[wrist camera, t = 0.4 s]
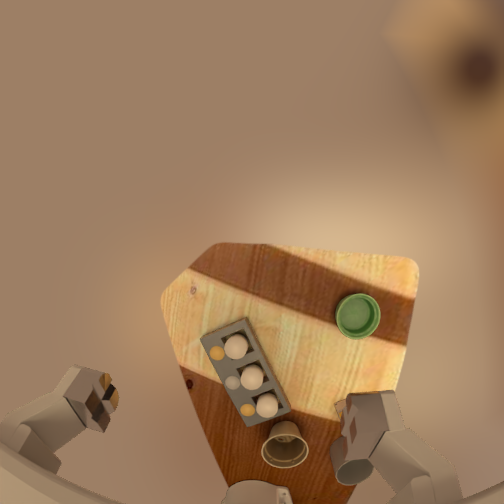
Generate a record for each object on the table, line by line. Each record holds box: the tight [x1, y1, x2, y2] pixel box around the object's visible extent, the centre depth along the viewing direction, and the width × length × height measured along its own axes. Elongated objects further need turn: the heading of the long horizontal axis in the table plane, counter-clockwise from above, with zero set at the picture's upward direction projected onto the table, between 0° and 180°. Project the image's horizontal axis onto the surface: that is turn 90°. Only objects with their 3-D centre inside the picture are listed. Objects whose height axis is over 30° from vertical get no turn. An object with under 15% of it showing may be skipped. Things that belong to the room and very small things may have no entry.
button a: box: [256, 393, 278, 418], centre depth 55 cm, size 4×4×3 cm
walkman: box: [334, 399, 346, 420], centre depth 51 cm, size 8×3×12 cm, turn 28°
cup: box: [330, 436, 374, 485], centre depth 52 cm, size 8×8×10 cm
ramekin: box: [335, 293, 380, 339], centre depth 56 cm, size 9×9×4 cm
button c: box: [224, 334, 248, 359], centre depth 56 cm, size 4×4×3 cm
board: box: [200, 317, 291, 427], centre depth 58 cm, size 22×10×3 cm, turn 25°
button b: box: [241, 365, 264, 390], centre depth 55 cm, size 4×4×3 cm
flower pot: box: [261, 421, 309, 468], centre depth 54 cm, size 9×9×9 cm
